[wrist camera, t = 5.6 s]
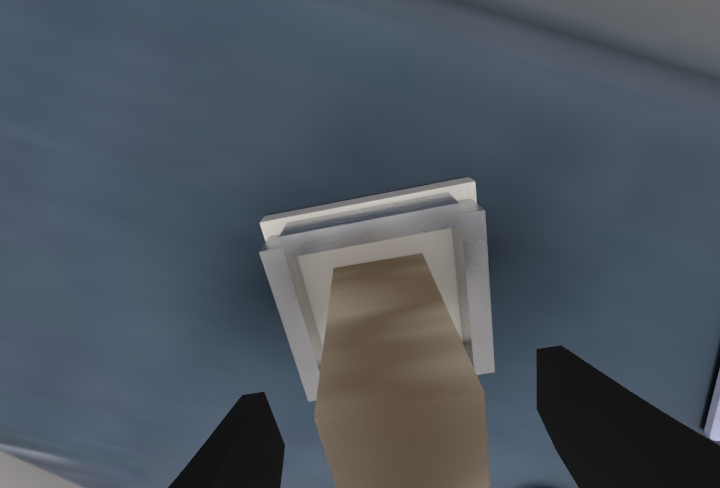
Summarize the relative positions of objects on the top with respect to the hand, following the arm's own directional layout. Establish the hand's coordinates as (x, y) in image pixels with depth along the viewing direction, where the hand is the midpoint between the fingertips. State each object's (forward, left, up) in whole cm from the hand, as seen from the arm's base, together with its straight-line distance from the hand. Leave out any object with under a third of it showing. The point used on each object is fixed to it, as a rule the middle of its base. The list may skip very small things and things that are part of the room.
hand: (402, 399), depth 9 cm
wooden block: (0, 0, -5) cm, 5 cm away
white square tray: (0, 0, -6) cm, 6 cm away
